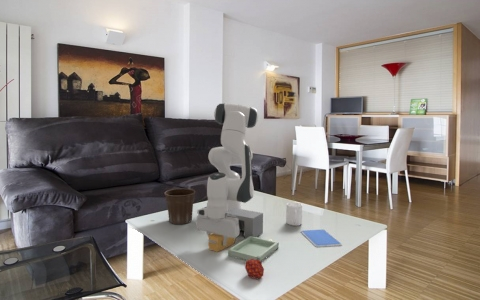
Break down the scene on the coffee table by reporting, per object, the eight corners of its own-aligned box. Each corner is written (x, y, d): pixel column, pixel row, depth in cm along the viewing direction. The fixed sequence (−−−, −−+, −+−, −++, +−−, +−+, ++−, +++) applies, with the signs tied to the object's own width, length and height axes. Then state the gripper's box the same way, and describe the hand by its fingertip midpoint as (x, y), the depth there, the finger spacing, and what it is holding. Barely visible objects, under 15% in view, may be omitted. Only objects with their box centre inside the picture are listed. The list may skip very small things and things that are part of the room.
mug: (303, 228, 163) (304, 208, 162) (287, 228, 164) (287, 208, 163) (300, 221, 175) (301, 202, 174) (285, 220, 176) (285, 202, 175)
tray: (228, 255, 130) (228, 249, 130) (250, 241, 146) (250, 236, 145) (258, 263, 123) (258, 257, 123) (278, 248, 138) (278, 242, 138)
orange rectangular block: (207, 249, 136) (207, 235, 135) (225, 240, 146) (226, 227, 146) (216, 252, 133) (216, 238, 132) (234, 243, 143) (234, 229, 143)
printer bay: (223, 233, 156) (223, 212, 155) (234, 227, 164) (235, 208, 164) (252, 239, 148) (253, 218, 147) (262, 233, 156) (263, 213, 155)
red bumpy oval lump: (254, 287, 110) (238, 272, 115) (266, 277, 115) (249, 263, 119) (259, 274, 108) (242, 259, 112) (271, 265, 112) (254, 250, 117)
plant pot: (181, 228, 162) (181, 196, 161) (158, 222, 171) (157, 192, 169) (201, 219, 176) (201, 190, 175) (179, 215, 185) (179, 187, 183)
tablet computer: (342, 246, 142) (343, 243, 141) (315, 248, 139) (315, 245, 139) (324, 231, 161) (324, 229, 160) (300, 233, 158) (300, 230, 158)
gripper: (242, 213, 133) (242, 246, 135) (203, 206, 144) (203, 236, 145) (234, 217, 128) (234, 251, 129) (194, 209, 139) (194, 241, 140)
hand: (217, 243), depth 137 cm, fingers closed on orange rectangular block, 5 cm apart
